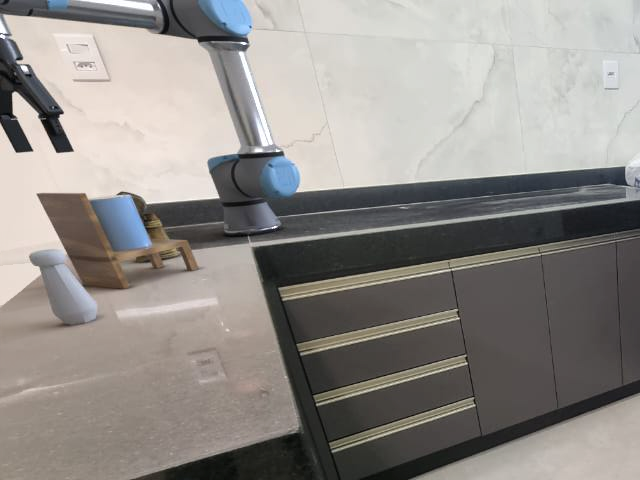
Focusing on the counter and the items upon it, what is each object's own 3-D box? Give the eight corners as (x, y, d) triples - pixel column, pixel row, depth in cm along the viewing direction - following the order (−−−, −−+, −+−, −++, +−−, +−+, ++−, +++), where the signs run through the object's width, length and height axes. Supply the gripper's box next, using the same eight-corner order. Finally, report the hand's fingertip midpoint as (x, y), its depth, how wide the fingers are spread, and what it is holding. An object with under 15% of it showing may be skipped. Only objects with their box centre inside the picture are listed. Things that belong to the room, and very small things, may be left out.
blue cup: (153, 241, 126) (132, 193, 121) (150, 246, 120) (128, 196, 115) (93, 249, 120) (69, 199, 115) (88, 255, 114) (61, 203, 110)
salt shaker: (103, 312, 100) (68, 244, 95) (104, 319, 97) (67, 249, 91) (60, 321, 97) (21, 251, 91) (59, 329, 93) (18, 256, 87)
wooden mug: (131, 267, 132) (96, 193, 125) (139, 257, 143) (107, 188, 135) (176, 261, 137) (145, 189, 129) (180, 251, 147) (152, 184, 139)
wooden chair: (160, 266, 133) (123, 183, 124) (199, 268, 129) (163, 183, 120) (83, 285, 119) (35, 193, 110) (124, 288, 115) (78, 193, 106)
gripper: (-78, 39, 104) (-14, 153, 114) (0, 32, 98) (61, 154, 107) (-26, 42, 111) (30, 150, 120) (51, 35, 104) (103, 150, 114)
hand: (45, 152), depth 114 cm, fingers open, 13 cm apart
